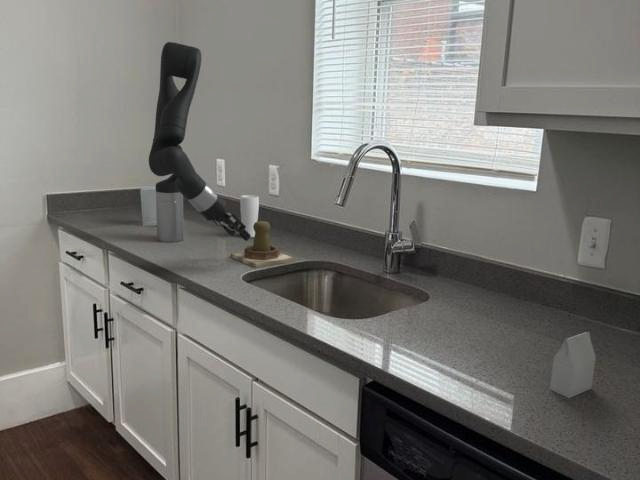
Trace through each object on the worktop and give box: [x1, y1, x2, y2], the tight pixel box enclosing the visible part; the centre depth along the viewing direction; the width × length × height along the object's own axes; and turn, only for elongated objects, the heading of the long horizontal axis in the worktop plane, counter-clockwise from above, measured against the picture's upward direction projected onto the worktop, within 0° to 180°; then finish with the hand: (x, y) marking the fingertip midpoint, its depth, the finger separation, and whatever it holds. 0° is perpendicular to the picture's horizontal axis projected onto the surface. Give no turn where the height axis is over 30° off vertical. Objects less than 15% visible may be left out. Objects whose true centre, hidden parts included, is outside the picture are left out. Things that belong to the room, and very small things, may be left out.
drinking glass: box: [239, 194, 260, 239], centre depth 213 cm, size 7×7×15 cm
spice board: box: [230, 244, 295, 269], centre depth 182 cm, size 15×14×4 cm
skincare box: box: [139, 186, 157, 227], centre depth 228 cm, size 8×6×15 cm
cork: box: [252, 220, 271, 252], centre depth 181 cm, size 6×6×11 cm
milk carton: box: [549, 331, 597, 399], centre depth 101 cm, size 4×7×10 cm, turn 125°
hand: (240, 235), depth 176 cm, fingers open, 8 cm apart
